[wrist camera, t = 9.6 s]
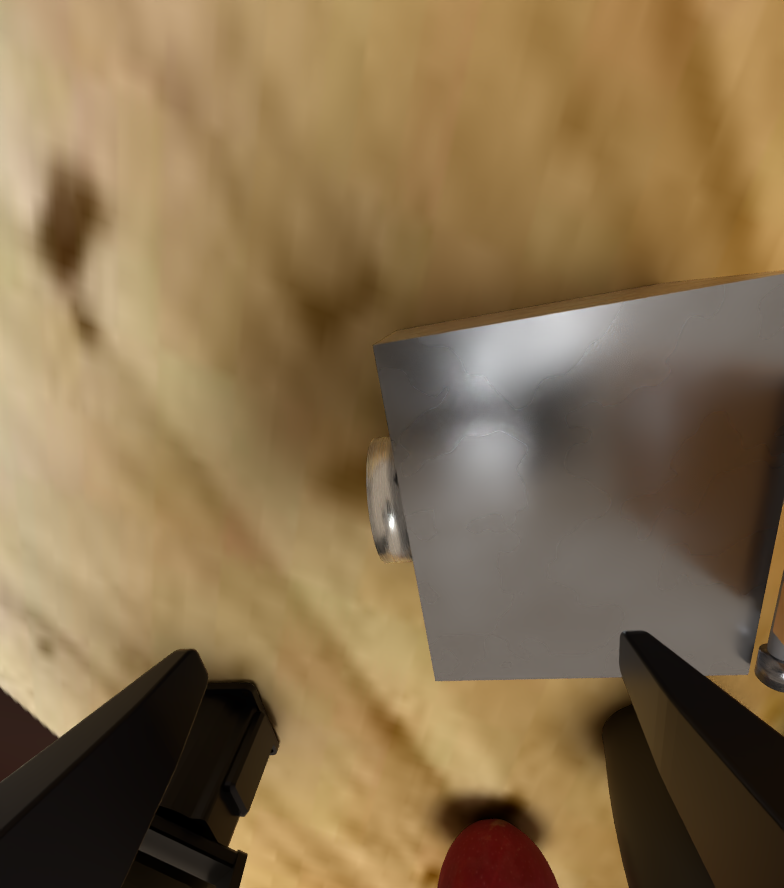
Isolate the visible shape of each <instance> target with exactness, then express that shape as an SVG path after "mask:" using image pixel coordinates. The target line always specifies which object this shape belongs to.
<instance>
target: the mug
mask: <svg viewBox="0 0 784 888" xmlns="http://www.w3.org/2000/svg"><path fill="white" fill-rule="evenodd" d="M602 739H603V744H604V750H605V758H606V768H607V778H608V786H609V794H610V800H611V806H612V812H613V818H614V824H615V829H616V833H617V838H618V843H619V848H620V853H621V857H622V862H623V866H624V870H625V874H626V878H627V882H628V886H629V888H716V887H715V885H714V883H713V881H712V879H711V877H710V875H709V873H708V871H707V869H706V867H705V865H704V863H703V861H702V859H701V857H700V855H699V853H698V851H697V849H696V847H695V845H694V843H693V840H692V838H691V836H690V834H689V832H688V830H687V828H686V826H685V824H684V822H683V820H682V818H681V816H680V814H679V812H678V810H677V808H676V806H675V804H674V802H673V800H672V798H671V796H670V794H669V792H668V790H667V787H666V785H665V783H664V781H663V779H662V777H661V775H660V772H659V770H658V767H657V765H656V762H655V760H654V758H653V755H652V752H651V750H650V747H649V745H648V742H647V740H646V737H645V734H644V732H643V729H642V727H641V724H640V722H639V719H638V716H637V714H636V711H635V709H634V706H633V705H630V706H628V707H625V708H623V709H621V710H619V711H618V712H616V713H615V714H613V715H612V716H611V717H610V718H609V719H608V720H607V722H606V724H605V725H604V727H603V733H602Z"/></svg>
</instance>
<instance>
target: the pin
mask: <svg viewBox="0 0 784 888" xmlns="http://www.w3.org/2000/svg"><path fill="white" fill-rule="evenodd" d="M366 486H367V501H368V510H369V518H370V524H371V529H372V534H373V538H374V542H375V545H376V549H377V551H378V554H379V556H380V558H381V560H382V561H383V562H384V563H398V562H411V561H413V558H412V553H411V547H410V542H409V537H408V531H407V526H406V521H405V515H404V510H403V505H402V499H401V494H400V488H399V483H398V478H397V472H396V467H395V462H394V456H393V451H392V446H391V440H390V436H389V437H381V438H374V439H372V441H371V442H370V445H369V449H368V454H367V466H366ZM783 504H784V500H783Z"/></svg>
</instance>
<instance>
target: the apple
mask: <svg viewBox="0 0 784 888" xmlns="http://www.w3.org/2000/svg"><path fill="white" fill-rule="evenodd" d="M437 888H559V887H558V884H557V881H556V879H555V876H554V874H553V872H552V870H551V868H550V866H549V864H548V862H547V861H546V859H545V857H544V856H543V854H542V852H541V851H540V850H539V848H538V847H537V846H536V845H535V844H534V842H533V841H532V840H531V839H530V838H529V837H528V836H527V835H525V834H524V833H523V832H522V831H521V830H519V829H518V828H516V827H515V826H513V825H512V824H510V823H508V822H507V821H504V820H501V819H486V820H480V821H477V822H475V823H472V824H471V825H469V826H468V827H466V828H465V829H464V830H463V831H462V832H461V833H460V834H459V835H458V837H457V838H456V839H455V841H454V842H453V843H452V845H451V847H450V848H449V850H448V852H447V855H446V857H445V860H444V862H443V865H442V868H441V872H440V876H439V881H438V887H437Z"/></svg>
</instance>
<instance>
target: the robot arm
mask: <svg viewBox="0 0 784 888" xmlns="http://www.w3.org/2000/svg"><path fill="white" fill-rule="evenodd" d="M619 668H620V672H621V675H622V678H623V680H624V683H625V686H626V688H627V691H628V693H629V696H630V698H631V701H632V704H633V706H634V709H635V711H636V714H637V716H638V719H639V722H640V724H641V727H642V729H643V732H644V734H645V737H646V740H647V742H648V745H649V747H650V750H651V752H652V755H653V758H654V760H655V762H656V765H657V767H658V770H659V772H660V775H661V777H662V779H663V781H664V783H665V785H666V787H667V790H668V792H669V794H670V796H671V798H672V800H673V802H674V804H675V806H676V808H677V810H678V812H679V814H680V816H681V818H682V820H683V822H684V824H685V826H686V828H687V830H688V832H689V834H690V836H691V838H692V840H693V843H694V845H695V847H696V849H697V851H698V853H699V855H700V857H701V859H702V861H703V863H704V865H705V867H706V869H707V871H708V873H709V875H710V877H711V879H712V881H713V883H714V885H715V887H716V888H784V737H783V736H782V735H781V734H780V733H778V732H777V731H776V730H774V729H773V728H772V727H770V726H769V725H768V724H767V723H765V722H764V721H763V720H761V719H760V718H759V717H757V716H756V715H755V714H754V713H752V712H751V711H750V710H748V709H747V708H746V707H745V706H743V705H742V704H741V703H739V702H738V701H737V700H735V699H734V698H733V697H732V696H730V695H729V694H728V693H726V692H725V691H724V690H722V689H721V688H720V687H719V686H717V685H716V684H715V683H713V682H712V681H711V680H709V679H708V678H707V677H706V676H704V675H703V674H702V673H700V672H699V671H698V670H696V669H695V668H694V667H693V666H691V665H690V664H689V663H687V662H686V661H685V660H683V659H682V658H681V657H680V656H678V655H677V654H676V653H674V652H673V651H672V650H670V649H669V648H668V647H667V646H665V645H664V644H663V643H661V642H660V641H659V640H658V639H656V638H655V637H654V636H652V635H651V634H650V633H648V632H646V631H644V630H630V631H622V632H621V634H620V643H619ZM278 748H279V743H278V741H277V738H276V736H275V733H274V731H273V729H272V726H271V724H270V721H269V719H268V717H267V714H266V712H265V709H264V707H263V705H262V702H261V700H260V697H259V695H258V692H257V690H256V688H255V686H254V685H252V684H250V683H208V673H207V670H206V668H205V666H204V664H203V662H202V660H201V658H200V656H199V653H198V652H197V651H196V650H195V649H179V650H176V651H174V652H173V653H171V654H170V655H169V656H167V657H166V658H165V659H163V660H162V661H161V662H159V663H158V664H157V665H155V666H154V667H153V668H151V669H150V670H149V671H147V672H146V673H145V674H143V675H142V676H141V677H139V678H138V679H137V680H135V681H134V682H133V683H131V684H130V685H129V686H127V687H126V688H125V689H124V690H122V691H121V692H120V693H118V694H117V695H116V696H114V697H113V698H112V699H110V700H109V701H108V702H106V703H105V704H104V705H102V706H101V707H100V708H98V709H97V710H96V711H94V712H93V713H92V714H90V715H89V716H88V717H86V718H85V719H84V720H82V721H81V722H80V723H78V724H77V725H76V726H74V727H73V728H72V729H70V730H69V731H68V732H67V733H65V734H64V735H63V736H61V737H60V738H59V739H57V740H56V741H55V742H53V743H52V744H51V745H49V746H48V747H47V748H45V749H44V750H43V751H42V752H40V753H39V754H37V755H36V756H35V757H33V758H32V759H31V760H29V761H28V762H27V763H25V764H24V765H23V766H22V767H20V768H19V769H18V770H16V771H15V772H13V773H12V774H11V775H10V776H9V777H7V778H6V779H4V780H3V781H2V782H0V888H239V886H240V882H241V879H242V875H243V871H244V867H245V863H246V859H247V855H248V854H247V853H245V852H243V851H241V850H238V851H235V850H233V849H231V848H229V847H228V846H229V843H230V841H231V838H232V835H233V833H234V830H235V827H236V825H237V822H238V820H239V817H244V816H245V815H246V814H247V813H248V812H249V809H250V807H251V804H252V801H253V799H254V796H255V793H256V790H257V788H258V785H259V782H260V780H261V777H262V774H263V772H264V769H265V766H266V763H267V761H268V758H269V755H275V754H276V753H277V751H278Z"/></svg>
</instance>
